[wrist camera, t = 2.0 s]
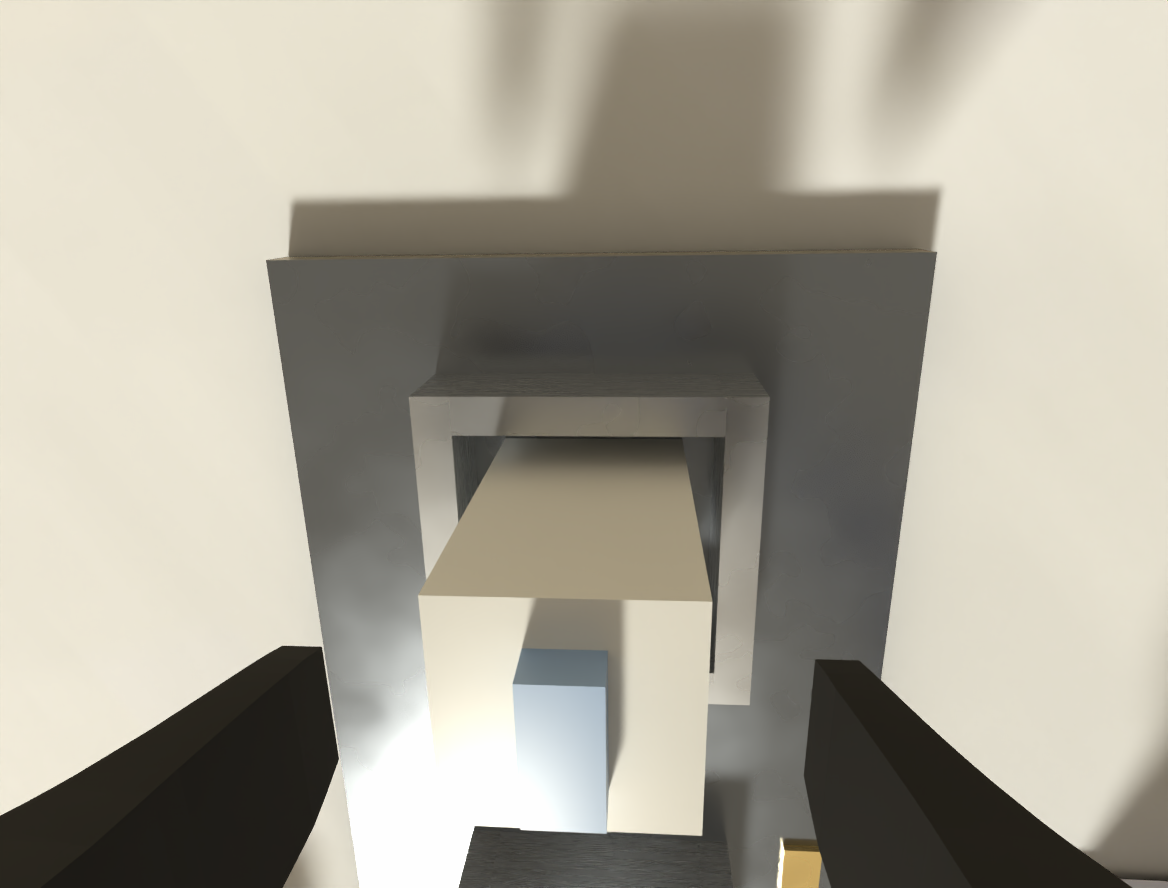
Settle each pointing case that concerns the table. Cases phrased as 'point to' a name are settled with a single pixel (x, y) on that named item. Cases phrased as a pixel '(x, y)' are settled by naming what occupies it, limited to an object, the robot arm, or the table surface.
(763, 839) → the panel
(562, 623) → the plug
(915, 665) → the table surface
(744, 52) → the table surface
